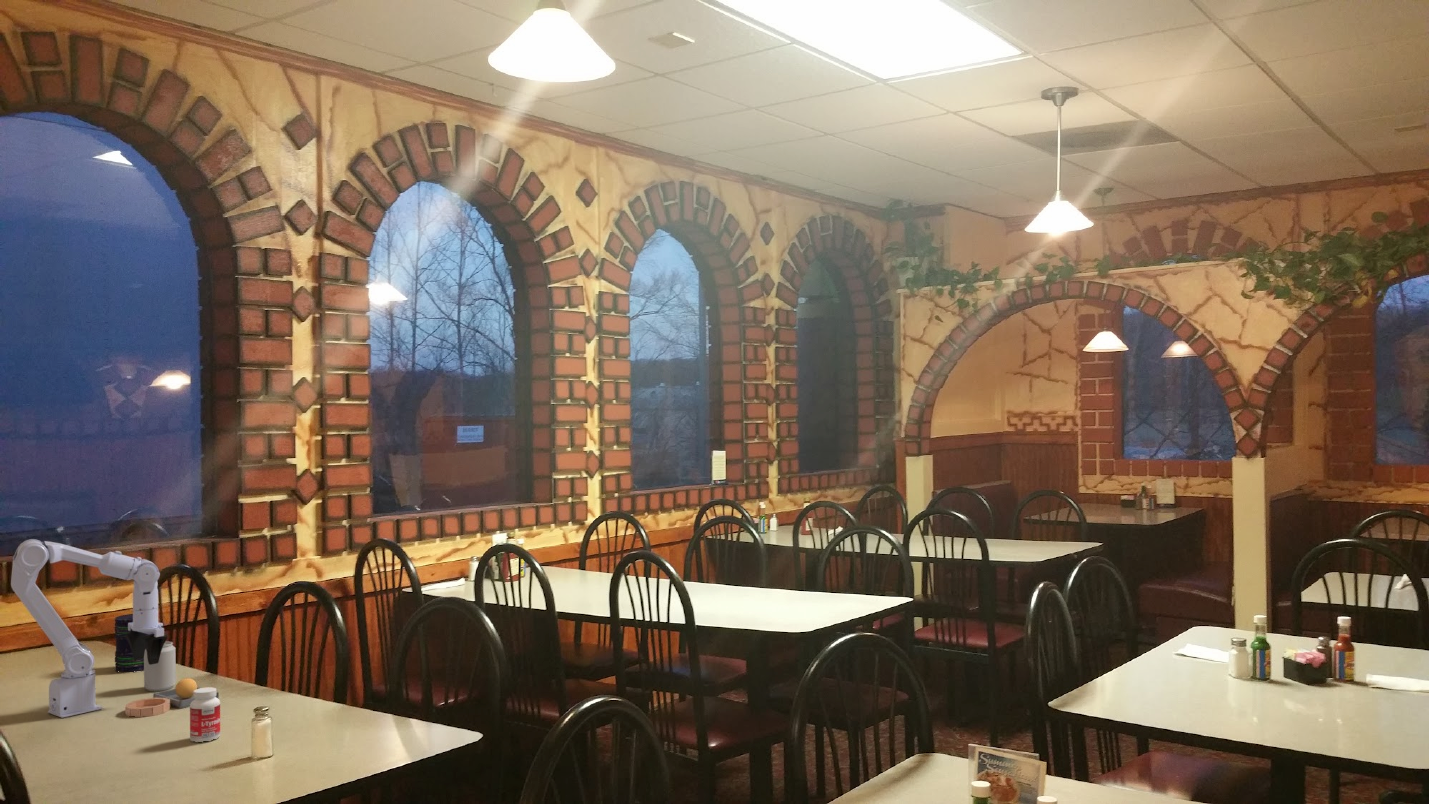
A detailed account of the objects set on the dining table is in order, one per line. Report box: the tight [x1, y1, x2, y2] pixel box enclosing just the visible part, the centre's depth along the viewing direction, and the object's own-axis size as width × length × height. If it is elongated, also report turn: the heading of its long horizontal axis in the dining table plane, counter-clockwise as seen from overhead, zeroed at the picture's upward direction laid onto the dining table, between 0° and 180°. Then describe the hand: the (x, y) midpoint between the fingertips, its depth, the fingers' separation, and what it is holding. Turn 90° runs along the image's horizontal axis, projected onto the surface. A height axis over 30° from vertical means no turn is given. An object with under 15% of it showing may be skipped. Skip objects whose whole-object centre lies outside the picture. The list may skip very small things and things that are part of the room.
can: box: [143, 641, 177, 692], centre depth 285 cm, size 8×8×12 cm
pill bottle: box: [189, 686, 221, 743], centre depth 241 cm, size 6×6×11 cm
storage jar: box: [114, 613, 150, 673], centre depth 306 cm, size 10×10×15 cm
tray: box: [152, 686, 220, 710], centre depth 273 cm, size 10×13×2 cm
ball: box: [174, 677, 198, 699], centre depth 273 cm, size 5×5×5 cm
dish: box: [124, 697, 171, 718], centre depth 263 cm, size 10×10×2 cm
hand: (146, 661), depth 273 cm, fingers open, 7 cm apart
